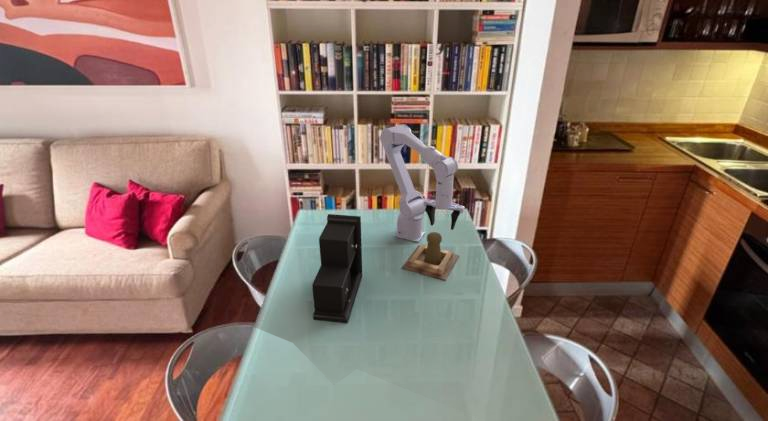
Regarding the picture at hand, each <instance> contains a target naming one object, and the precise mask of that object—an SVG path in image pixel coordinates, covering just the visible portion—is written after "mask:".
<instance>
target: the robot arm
mask: <svg viewBox="0 0 768 421" xmlns="http://www.w3.org/2000/svg"><path fill="white" fill-rule="evenodd" d="M379 138H380V139H379V140H380V142H381V144H382V147H383V149H384V152H385V156H386V158H387V161H388V164H389V166H390V168H391V172H392V174H393V177H394V179H395V181H396V183H397V187H398V189H399V192H400V194H401V196H400V198H399V200H398V202H397V203H398V205H399V215H398V217H397V222H396V235H395V237H396V238H400V239H404V240H407V241H410V242H411V241H412V242H415V243H419V242H420V240H421V239H422V237H423V236H424V235H425V234H426V231H423V216H424V215H425V213H426V215H427V216H428V220H429V224H430V226H432V227H433V225H435V221H436V217H435V216H436V209H440V210H446V211H447V210H448V211H452V212H451V213H450V218H451V222H450V223H451V224H450V230H452V231H453V230H454V229H455V226H456V224H457V221H458V218H459V216H460V215H461V214H463V213H465V206H464V205H461V204H458V203H455V202H453V193H454V192H453V191H454V181H455V180H454V175H455V173H457V171H458V167H459V165H458V162H457V160H456V159H455V158H454V157H452V156H446V155H444V154H443V153H441V152H440V151H439V150H437V149H436V148H437V147H435V146H432V145H429V146H427V145H426V144H425V143H423V142H422V141H421V140H420V139H419V138H418V137H417V136H416V135H414V133H412V129H411V127H409V126H408V125H406V124H405V123H400V124H399V125H395V126H391V127H387V128H386V127H385V128H383V129H382V130H381V133H380V136H379ZM405 145H406V146H407V147H409V148H410V149H412V150H413V151H415V152H416V153H418V154H420V159H421V161H423V162H424V163H426V164H427V165H428V166H429V167H431V168H432V170H433V172H434V175H435V180H436V187H435V199H427V198H424V196H423V195H422V193H421V192H420V191H417V190H416V189H415V186H414V184H413V181H412V180H411V179H412V178H411V176H410V173H409V171H408V169H407V165H406V164H405V161H404V158H403V156H402V153H401V151H402V148H403V147H404V146H405Z"/></svg>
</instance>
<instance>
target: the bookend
mask: <svg viewBox="0 0 768 421" xmlns="http://www.w3.org/2000/svg"><path fill="white" fill-rule="evenodd" d="M326 218H327V219H326V224H325V226H324V228H323V230H322V232H321V233H320V236H319V237H318V244H319V245H318V246H319V254H320V255H319V257H320V267H319V268H318V271H317V273H316V276H315V278H314V280H313V281H312V284H311V287H312V288H311V289H312V298H313V304H314V305H313V306H314V312H313V314H312V319H313V320H315V321H323V322H325V321H326V322H334V323H341V324H348V323H349V320H350V317H351V314H352V311H353V308H354V304H355V301H356V298H357V295H358V291H359V287H360V285H361V282H362V277H363V253H362V252H363V249H362V248H363V247H362V221H361V220H362V219H361V218H362V216H361V215H346V214H335V213H334V214H331V213H329V214H328V213H327V216H326Z"/></svg>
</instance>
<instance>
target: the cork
mask: <svg viewBox="0 0 768 421" xmlns="http://www.w3.org/2000/svg"><path fill="white" fill-rule="evenodd" d="M442 240H443V237H442V235H441V234H440V233H439V232H437V231H431V232H429V233H428V234H427V236H426V241H427V244H426V245H427V250H426V255H425V260H424V261H425V262H426V263H429V264H433V265H438V264H440V263H441V251H440V249H441V244H442V243H441V242H442Z"/></svg>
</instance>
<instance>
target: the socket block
mask: <svg viewBox="0 0 768 421" xmlns="http://www.w3.org/2000/svg"><path fill="white" fill-rule="evenodd" d="M427 245H428V244H422V243H421V245H420V244H418V245H417V246H416V248H415V249H414V251H413V252H412V253H411V255H410V256H409V257H408V259H406V261H405V262H404V263H403V265H402V266H401V269H403V270H407V271H409V272H414V273H418V274H421V275H423V276H428V277H431V278H435V279H437V280H442V281H447V279H448V277H449V275H450V274H451V271H452V270H453V268H454V266H455V264H456V263H457V261H458V259H459V258H460V254H459V255H458V254H456V253H454V252H453V251H450V250H446V249H442V248H440V251H441V263H440V264H438V265H433V264H429V263H426V262H425V261H424V260H425V255H426V250H427Z"/></svg>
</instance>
